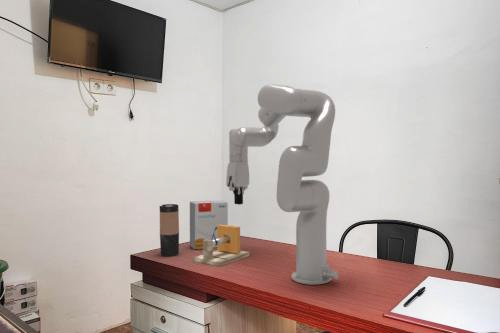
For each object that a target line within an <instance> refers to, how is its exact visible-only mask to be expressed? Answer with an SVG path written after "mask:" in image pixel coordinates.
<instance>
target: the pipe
mask: <svg viewBox="0 0 500 333" xmlns="http://www.w3.org/2000/svg"><path fill="white" fill-rule="evenodd" d="M226 242H230V235H228V236H225V237H221V238H217V239H213V246H217V245H219V244H223V243H226Z"/></svg>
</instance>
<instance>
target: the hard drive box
mask: <svg viewBox="0 0 500 333" xmlns="http://www.w3.org/2000/svg"><path fill="white" fill-rule="evenodd" d="M228 202H229V201H227V200H221V199H220V200H219V199H217V200H200V201H199V200H198V201H196V200H195V201H189V247H191V248H192V249H193V250H203V240H206V239H207V240H213V239H217V225H229V224H228V223H229V221H228V220H229V218H228V217H229V216H228V213H229V212H228V211H229V209H228V208H229V207H228V206H229V204H228ZM227 236H229V235H227ZM215 248H216V249H217V248H218V245H217V246H213V249H215Z"/></svg>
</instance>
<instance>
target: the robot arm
mask: <svg viewBox="0 0 500 333" xmlns="http://www.w3.org/2000/svg"><path fill="white" fill-rule="evenodd" d="M260 88H261V89H259V92H258V94H257V104H258V105H259V107H260V108H259V110H258V112H257V116H258V119H259V121H260V122H261V123H262V124H263V126H262V127H254V126H253V127H252V126H251V127H250V126H249V127H248V126H247V127H246V126H244V127H243V126H242V127H239V128H231V129H230V130H229V132H228V136H229V137H228V141H229V142H228V143H229V144H228V146H229V147H228V150H229V151H228V152H229V154H228V155H229V156H228V159H229V160H228V161H229V162H228V163H227V168H226V180H225V182H226V187H227V188H228V191H231V192H232V193H233V196H234V199H233V201H234V203H233V204H235V205H238V206H239V205H240V206H241V205H243V204H244V198H243V197H244V194H245V191H246V190H248V188H249V187H248V186H249V185H250V170H249V168H250V167H249V159H248V158H249V157H248V156H249V155H248V154H249V147H252V148H253V147H254V148H255V147H257V148H259V147H266V146H267V145H269V144H271V142H272V141H273V140H274V139H276V137H277V135H278V133H279V123H280V122H282V121H283V120H284V118H287V117H300V118H310V120H309V121H308V122H307V124H306V125H305V127H304V130H303V135H302V136H303V137H302V143H301V145H292V146H291V145H290V146H287V148H285V149H284V150H283V151H282V154H281V155H280V158H279V161H278V163H279V164H278V169H277V170H278V172H277V183H276V202H277V205H278V207H279V208H280V210H281V211H283V212H286V213H299V214H298V216H297V219H296V224H295V240H296V241H295V244H296V246H295V250H296V252H295V253H296V257H295V258H296V268H295V269H296V271H293V272H292V274H291V280H293V281H294V282H296V283H299V284H304V285H311V286H312V285H314V286H315V285H318V286H319V285H323V284H327V283H330V282H331V281H332V279H335V280H338V278H339V272H338V271H337V270H332V269H331V268H330V266H331V265H330V264H328V263H327V220H328V219H327V215H328V208H329V202H330V190H329V188H328V186H327V184H325V183H324V182H323V181H321V180H319V179H318V180H317V179H304V180H303V179H302V178H303V177H305V178H306V177H318V176H322V175H324V174H325V173H326V172H327V169H328V166H329V158H330V148H331V138H332V131H333V126H334V122H335V118H336V106H335V103H334V100H333V99H332V98H331V96H330V95H328V94H326V93H324V92H322V91H318V90H313V89H302V88H294V87H293V86H289V85H283V84H276V83H275V84H274V83H267V84H265V85H263V86H262V87H260Z"/></svg>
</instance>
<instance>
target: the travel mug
mask: <svg viewBox="0 0 500 333" xmlns="http://www.w3.org/2000/svg"><path fill="white" fill-rule="evenodd" d="M179 214H180V213H179V204H176V203H167V204H162V205H159V240H160V241H159V242H160V244H159V245H160V256H162V257H175V256H178V255H179V252H180V249H179V248H180V218H179V217H180V216H179Z"/></svg>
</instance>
